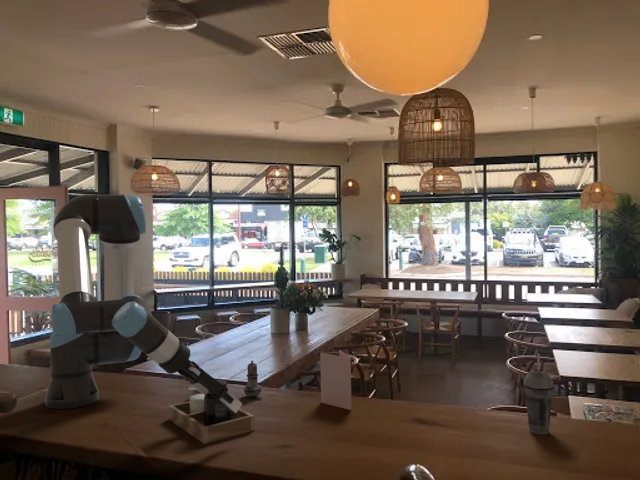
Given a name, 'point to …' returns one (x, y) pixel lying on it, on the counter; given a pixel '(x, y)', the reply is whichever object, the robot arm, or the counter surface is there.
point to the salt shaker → (252, 383)
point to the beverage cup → (538, 399)
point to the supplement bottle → (215, 408)
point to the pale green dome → (197, 403)
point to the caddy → (211, 433)
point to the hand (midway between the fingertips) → (225, 401)
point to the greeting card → (336, 380)
